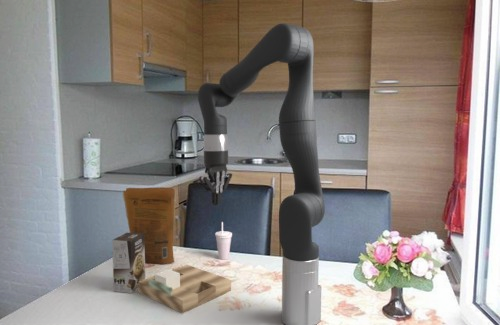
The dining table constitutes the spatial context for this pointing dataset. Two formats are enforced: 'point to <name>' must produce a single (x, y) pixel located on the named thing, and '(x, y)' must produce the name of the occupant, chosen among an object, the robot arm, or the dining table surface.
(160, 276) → the block
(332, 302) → the dining table surface
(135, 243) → the coffee box
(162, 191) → the pancake mix bag
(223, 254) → the smoothie
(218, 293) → the trap deck
